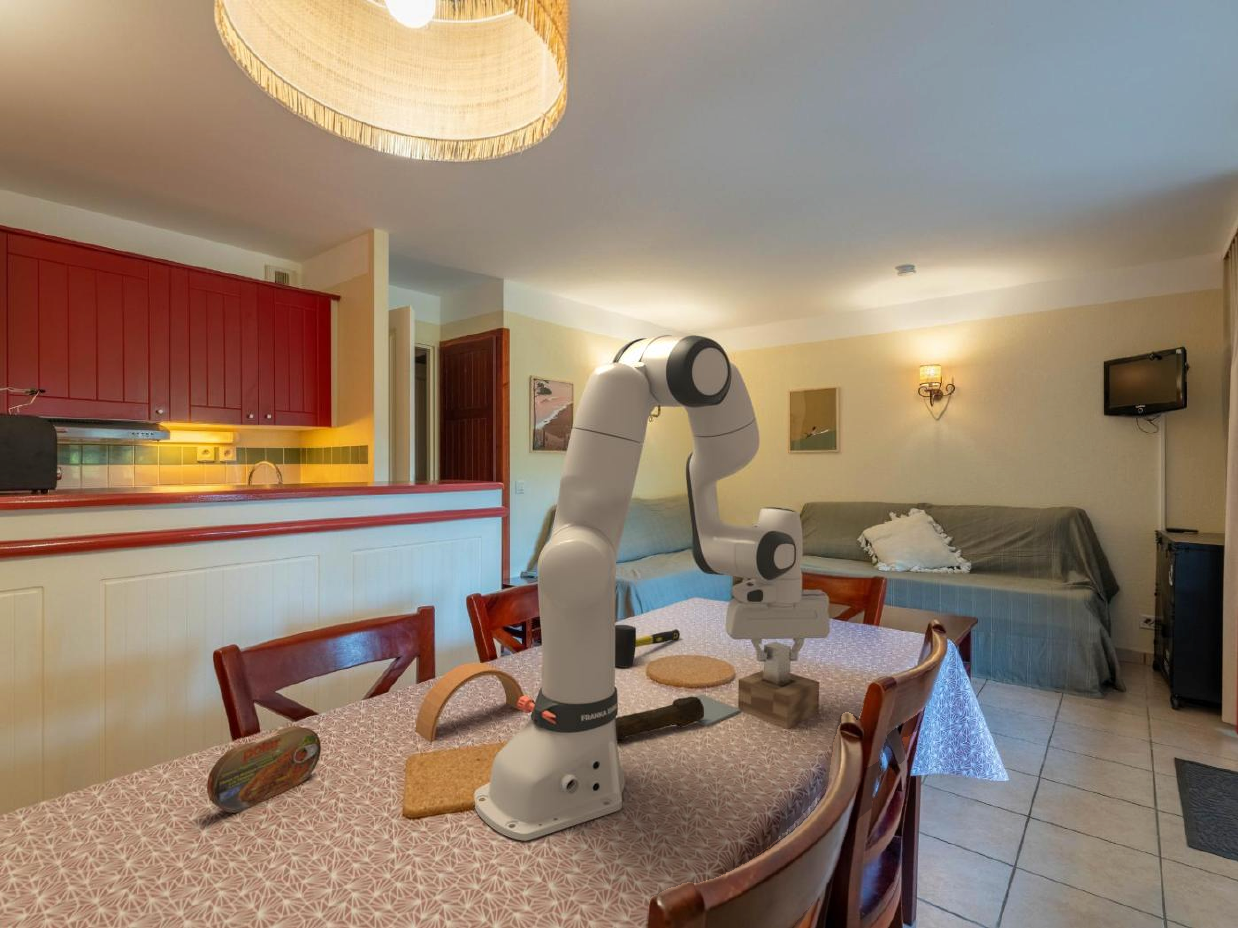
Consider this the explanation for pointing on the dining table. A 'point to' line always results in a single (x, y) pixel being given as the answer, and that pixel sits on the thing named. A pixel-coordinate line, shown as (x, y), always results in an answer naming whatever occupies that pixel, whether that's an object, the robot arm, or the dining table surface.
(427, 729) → the arch
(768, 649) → the gray rectangular block
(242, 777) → the tin
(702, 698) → the pad
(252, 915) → the dining table surface
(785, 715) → the block with square hole
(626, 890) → the dining table surface
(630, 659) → the mallet
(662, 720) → the hand tool
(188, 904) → the dining table surface
